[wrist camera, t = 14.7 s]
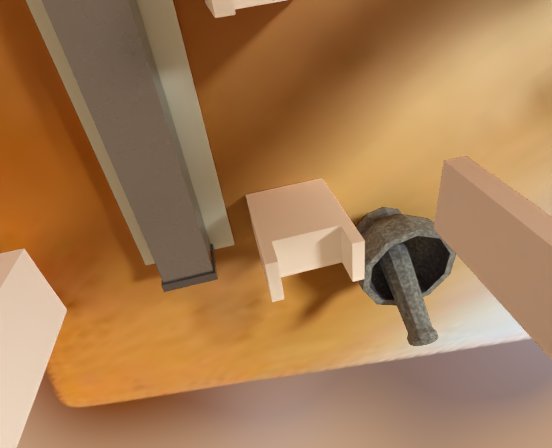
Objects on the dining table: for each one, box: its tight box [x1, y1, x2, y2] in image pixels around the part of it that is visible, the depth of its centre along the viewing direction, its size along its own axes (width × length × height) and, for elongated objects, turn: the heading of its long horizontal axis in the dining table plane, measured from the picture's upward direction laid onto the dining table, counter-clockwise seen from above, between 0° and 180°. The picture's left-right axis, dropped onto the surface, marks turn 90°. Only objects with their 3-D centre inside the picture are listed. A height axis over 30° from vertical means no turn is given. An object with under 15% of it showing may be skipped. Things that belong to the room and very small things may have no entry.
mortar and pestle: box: [356, 207, 456, 346], centre depth 37 cm, size 11×9×12 cm
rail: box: [42, 0, 218, 292], centre depth 28 cm, size 26×5×4 cm, turn 8°
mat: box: [26, 0, 235, 265], centre depth 30 cm, size 26×9×1 cm, turn 8°
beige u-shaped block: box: [246, 178, 365, 302], centre depth 33 cm, size 4×8×10 cm, turn 98°
